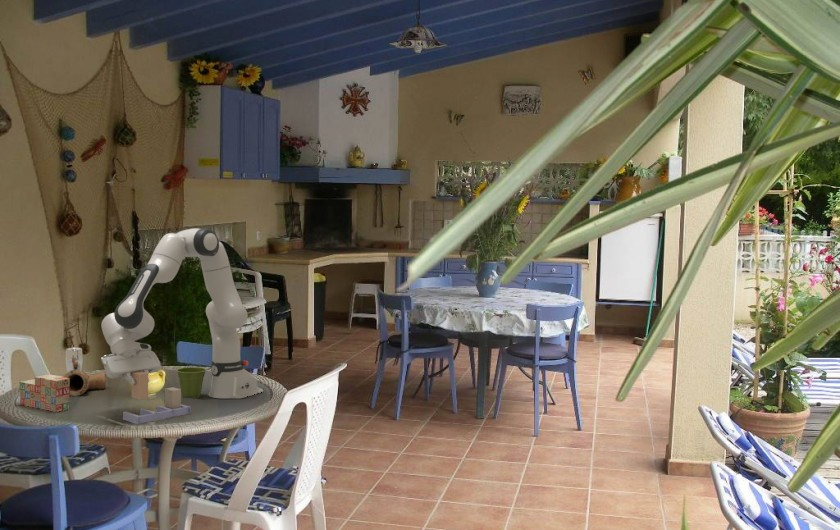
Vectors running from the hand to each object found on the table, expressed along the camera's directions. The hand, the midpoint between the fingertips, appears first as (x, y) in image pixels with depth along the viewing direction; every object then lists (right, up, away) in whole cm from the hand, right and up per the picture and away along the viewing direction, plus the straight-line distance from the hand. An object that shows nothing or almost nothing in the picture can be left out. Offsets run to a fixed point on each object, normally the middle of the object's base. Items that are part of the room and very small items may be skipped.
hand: (140, 383), depth 319 cm
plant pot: (+7, -11, +42) cm, 44 cm away
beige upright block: (+8, -13, +11) cm, 19 cm away
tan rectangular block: (-1, -5, +1) cm, 5 cm away
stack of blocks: (-43, -12, +22) cm, 50 cm away
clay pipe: (-38, -10, +48) cm, 62 cm away
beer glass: (-49, -9, +65) cm, 81 cm away
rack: (+4, -14, +7) cm, 16 cm away
